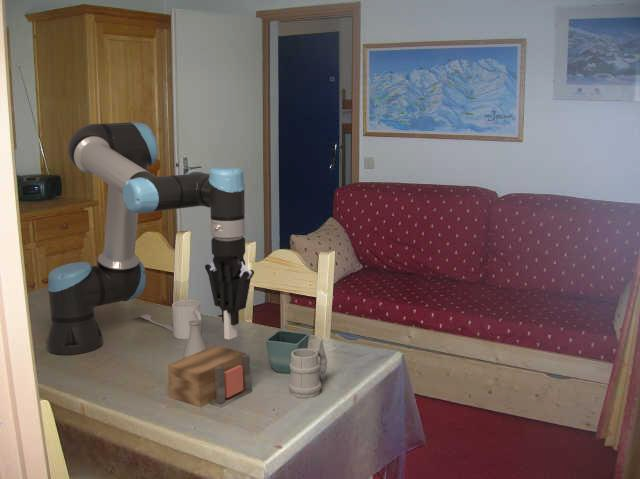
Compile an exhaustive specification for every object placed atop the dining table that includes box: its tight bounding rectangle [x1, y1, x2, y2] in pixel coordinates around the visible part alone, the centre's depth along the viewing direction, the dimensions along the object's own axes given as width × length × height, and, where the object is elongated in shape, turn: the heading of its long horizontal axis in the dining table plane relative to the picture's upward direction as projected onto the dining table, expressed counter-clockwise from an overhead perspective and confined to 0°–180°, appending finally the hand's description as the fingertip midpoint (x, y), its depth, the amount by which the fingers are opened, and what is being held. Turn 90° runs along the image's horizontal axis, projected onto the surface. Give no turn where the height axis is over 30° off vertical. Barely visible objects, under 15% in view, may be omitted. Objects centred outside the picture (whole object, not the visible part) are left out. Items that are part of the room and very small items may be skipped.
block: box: [167, 345, 253, 408], centre depth 165 cm, size 14×16×9 cm
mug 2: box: [288, 336, 328, 399], centre depth 166 cm, size 8×12×12 cm, turn 141°
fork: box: [134, 313, 173, 332], centre depth 219 cm, size 3×21×3 cm, turn 50°
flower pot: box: [265, 330, 310, 375], centre depth 179 cm, size 9×9×9 cm
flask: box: [182, 320, 208, 359], centre depth 189 cm, size 7×7×10 cm
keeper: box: [224, 365, 243, 398], centre depth 162 cm, size 1×6×6 cm, turn 145°
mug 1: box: [171, 299, 203, 340], centre depth 205 cm, size 8×12×10 cm, turn 41°
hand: (230, 337), depth 160 cm, fingers closed
